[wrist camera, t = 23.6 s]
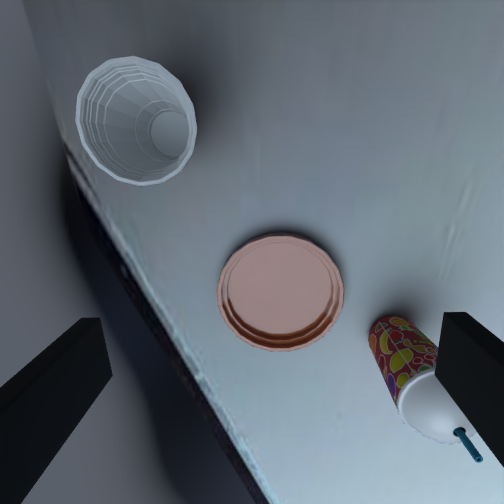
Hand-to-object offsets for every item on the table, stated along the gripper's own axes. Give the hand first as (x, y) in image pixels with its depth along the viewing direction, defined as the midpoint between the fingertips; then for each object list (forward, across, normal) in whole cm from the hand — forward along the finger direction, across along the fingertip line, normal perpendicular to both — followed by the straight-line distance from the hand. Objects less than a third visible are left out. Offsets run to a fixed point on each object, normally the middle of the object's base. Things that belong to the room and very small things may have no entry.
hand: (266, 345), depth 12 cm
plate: (+30, +1, -12) cm, 32 cm away
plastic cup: (+31, -12, +10) cm, 34 cm away
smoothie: (+30, +17, -19) cm, 40 cm away
